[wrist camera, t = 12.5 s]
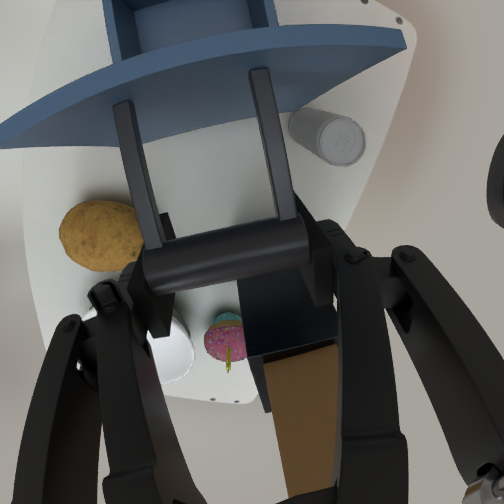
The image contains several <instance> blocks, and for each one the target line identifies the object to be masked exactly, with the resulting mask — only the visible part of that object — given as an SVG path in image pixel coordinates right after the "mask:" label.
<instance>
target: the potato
mask: <svg viewBox="0 0 504 504" xmlns="http://www.w3.org/2000/svg"><path fill="white" fill-rule="evenodd" d="M59 238H60V240H61V242H62V244H63V247H64V249H65V252H66V254H67V255H68V256H69V257H70V258H71V259H72V260H73V261H74V262H76V263H78V264H79V265H81V266H83V267H85V268H87V269H89V270H91V271H101V272H106V271H120V270H123V269H124V268H125V267H126V265H127V264H128V263H129V262H134V261H137V258H138V256H139V253H140V251H141V248H142V246H143V243H144V241H143V237H142V234H141V231H140V227H139V224H138V220H137V216H136V213H135V209H134V208H133V207H130V206H128V205H126V204H123V203H119V202H116V201H95V200H93V201H86V202H83V203H80V204H78V205H76V206H75V207H73V208H72V209H71V210H70V211H69V212H68V213H67V214H66V215H65V217H64V219H63V221H62V223H61V225H60V228H59Z"/></svg>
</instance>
